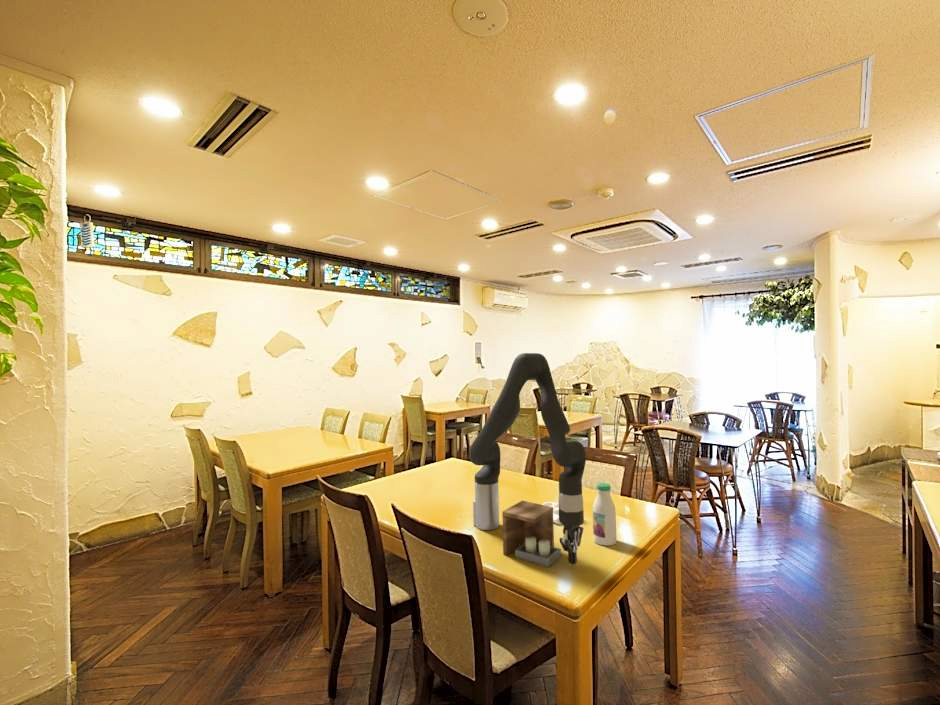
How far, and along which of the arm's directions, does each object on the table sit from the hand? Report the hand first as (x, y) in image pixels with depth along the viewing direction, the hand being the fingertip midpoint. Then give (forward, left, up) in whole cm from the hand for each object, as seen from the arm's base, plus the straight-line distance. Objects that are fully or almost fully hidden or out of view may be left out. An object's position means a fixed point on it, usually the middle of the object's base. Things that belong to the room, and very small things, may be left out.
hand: (572, 562), depth 130 cm
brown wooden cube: (-16, +1, -1) cm, 16 cm away
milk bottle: (+2, +23, -2) cm, 23 cm away
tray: (-12, 0, -2) cm, 12 cm away
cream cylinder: (-15, 0, -1) cm, 15 cm away
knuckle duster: (-22, +36, -2) cm, 42 cm away
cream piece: (-10, 0, -1) cm, 10 cm away
